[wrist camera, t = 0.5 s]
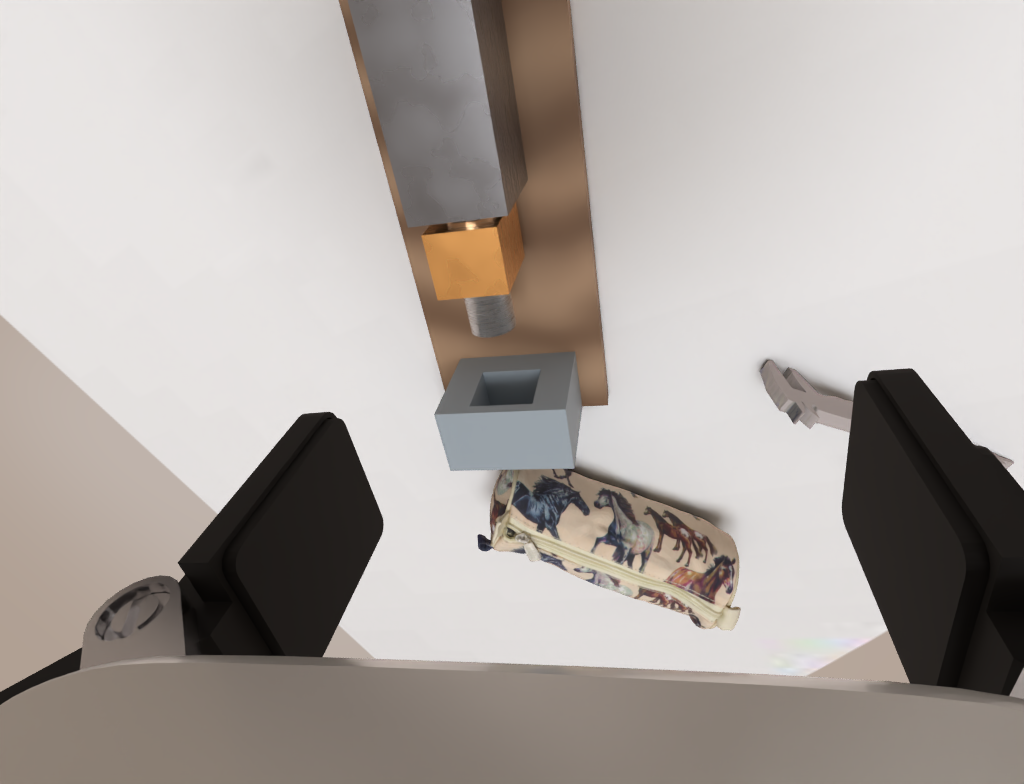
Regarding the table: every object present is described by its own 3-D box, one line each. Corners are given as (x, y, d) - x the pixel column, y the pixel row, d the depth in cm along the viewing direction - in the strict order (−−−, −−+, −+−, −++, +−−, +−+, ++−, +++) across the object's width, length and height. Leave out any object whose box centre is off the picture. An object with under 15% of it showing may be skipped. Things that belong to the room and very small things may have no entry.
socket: (460, 358, 47) (434, 414, 41) (575, 351, 45) (565, 409, 39) (473, 410, 49) (450, 470, 43) (582, 406, 47) (574, 468, 41)
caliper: (757, 367, 45) (773, 417, 40) (766, 355, 44) (783, 405, 39) (1000, 467, 46) (1047, 528, 41) (1012, 457, 45) (1061, 518, 40)
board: (344, -18, 35) (333, -18, 34) (562, -68, 32) (560, -70, 31) (455, 401, 51) (450, 411, 50) (608, 394, 48) (607, 405, 47)
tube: (404, 5, 33) (363, 8, 28) (481, -12, 32) (452, -11, 27) (472, 309, 42) (450, 351, 38) (532, 304, 41) (518, 346, 37)
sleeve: (394, -21, 33) (341, -23, 27) (494, -43, 32) (462, -50, 26) (442, 190, 40) (407, 227, 34) (528, 179, 38) (507, 215, 32)
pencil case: (488, 490, 57) (463, 573, 49) (517, 426, 52) (495, 506, 44) (699, 570, 58) (709, 664, 50) (747, 514, 53) (767, 608, 45)
